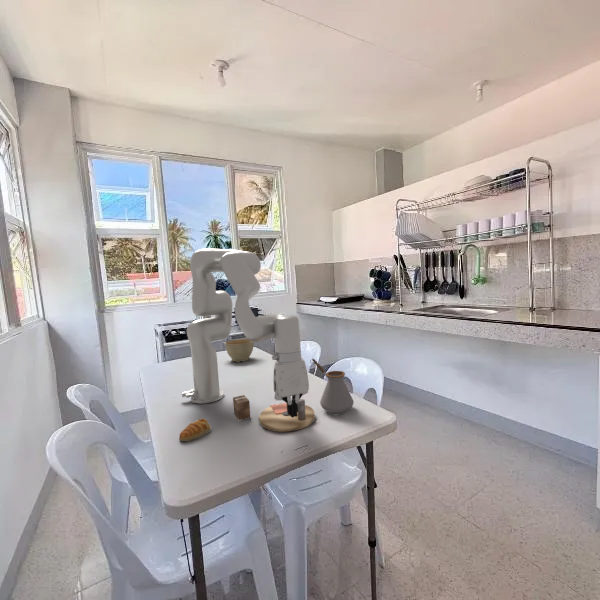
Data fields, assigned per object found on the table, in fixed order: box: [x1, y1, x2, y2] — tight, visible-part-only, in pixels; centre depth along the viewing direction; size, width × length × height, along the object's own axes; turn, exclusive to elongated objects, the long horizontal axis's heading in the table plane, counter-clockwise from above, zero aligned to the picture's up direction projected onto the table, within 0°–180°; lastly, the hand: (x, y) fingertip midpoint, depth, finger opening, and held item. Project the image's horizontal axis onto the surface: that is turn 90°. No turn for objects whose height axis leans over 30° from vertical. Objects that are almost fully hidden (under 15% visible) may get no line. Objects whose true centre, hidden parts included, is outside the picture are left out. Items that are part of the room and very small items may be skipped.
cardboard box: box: [232, 394, 251, 421], centre depth 111 cm, size 4×6×6 cm, turn 27°
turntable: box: [258, 398, 315, 433], centre depth 106 cm, size 18×18×8 cm
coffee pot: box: [309, 358, 354, 416], centre depth 115 cm, size 21×12×15 cm, turn 28°
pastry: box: [178, 418, 212, 442], centre depth 99 cm, size 9×7×4 cm
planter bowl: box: [224, 338, 255, 363], centre depth 185 cm, size 16×16×11 cm
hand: (292, 415), depth 99 cm, fingers closed
